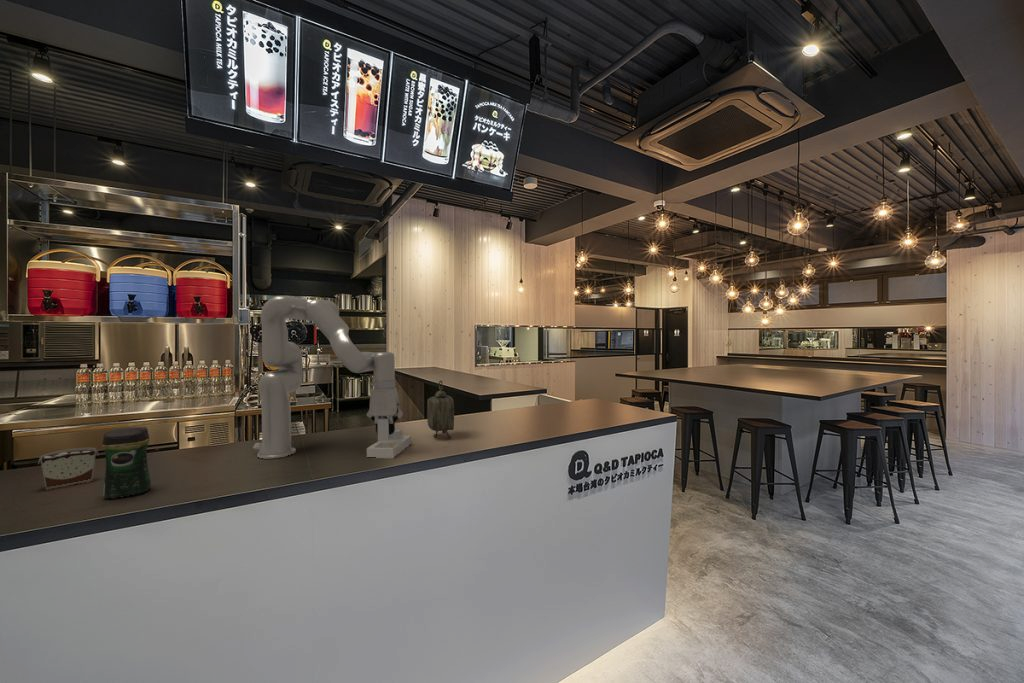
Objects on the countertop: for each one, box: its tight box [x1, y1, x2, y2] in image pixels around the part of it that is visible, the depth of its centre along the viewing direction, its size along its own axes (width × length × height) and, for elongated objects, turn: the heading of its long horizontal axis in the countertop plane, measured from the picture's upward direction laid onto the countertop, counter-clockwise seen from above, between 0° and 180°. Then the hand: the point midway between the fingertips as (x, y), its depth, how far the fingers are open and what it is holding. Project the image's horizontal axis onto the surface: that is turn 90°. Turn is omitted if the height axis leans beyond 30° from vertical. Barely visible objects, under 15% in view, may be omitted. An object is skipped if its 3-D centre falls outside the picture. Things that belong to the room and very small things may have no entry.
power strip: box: [366, 428, 412, 459], centre depth 159 cm, size 10×20×6 cm, turn 175°
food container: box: [37, 447, 99, 487], centre depth 124 cm, size 12×6×10 cm, turn 141°
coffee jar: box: [101, 426, 152, 499], centre depth 116 cm, size 10×8×19 cm
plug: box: [377, 416, 393, 442], centre depth 153 cm, size 4×5×10 cm
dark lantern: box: [426, 380, 455, 440], centre depth 180 cm, size 14×9×25 cm, turn 22°
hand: (385, 433), depth 153 cm, fingers closed on plug, 4 cm apart
